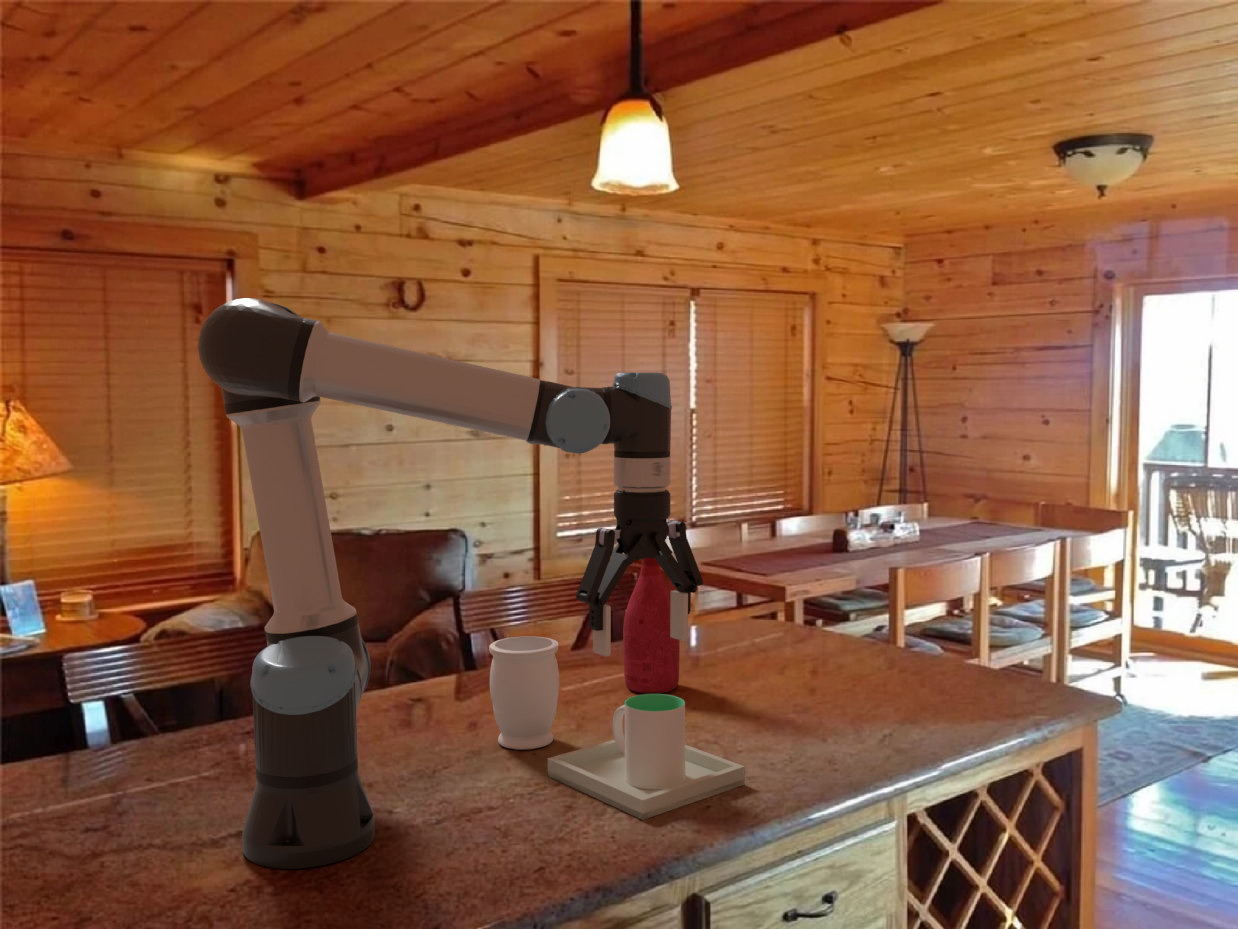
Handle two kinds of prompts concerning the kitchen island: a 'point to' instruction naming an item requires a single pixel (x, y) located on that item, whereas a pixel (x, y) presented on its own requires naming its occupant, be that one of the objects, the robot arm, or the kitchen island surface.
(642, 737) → the mug
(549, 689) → the jar
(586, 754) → the tray
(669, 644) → the wine bottle
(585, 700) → the kitchen island surface
